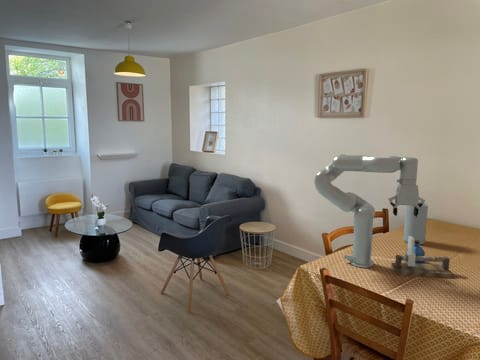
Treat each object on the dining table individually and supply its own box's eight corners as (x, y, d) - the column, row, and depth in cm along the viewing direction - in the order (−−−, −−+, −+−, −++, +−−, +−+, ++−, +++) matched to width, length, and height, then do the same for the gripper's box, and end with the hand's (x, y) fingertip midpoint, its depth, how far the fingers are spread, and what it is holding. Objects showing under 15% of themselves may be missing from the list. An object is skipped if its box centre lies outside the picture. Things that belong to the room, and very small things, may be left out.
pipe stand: (398, 275, 178) (399, 259, 177) (391, 266, 190) (392, 251, 189) (453, 277, 175) (455, 261, 174) (442, 268, 187) (443, 253, 186)
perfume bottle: (414, 264, 192) (416, 243, 191) (406, 260, 198) (407, 239, 196) (423, 263, 194) (425, 242, 192) (415, 259, 200) (417, 238, 198)
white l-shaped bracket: (408, 266, 180) (410, 239, 178) (404, 261, 186) (406, 235, 184) (414, 266, 180) (416, 239, 177) (410, 261, 185) (412, 235, 183)
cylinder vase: (428, 245, 223) (431, 206, 219) (408, 244, 223) (411, 206, 219) (419, 238, 235) (422, 201, 231) (400, 238, 236) (402, 201, 232)
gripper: (392, 183, 175) (389, 216, 178) (429, 183, 173) (426, 218, 175) (387, 180, 182) (385, 213, 185) (423, 181, 180) (420, 214, 183)
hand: (405, 215), depth 180 cm, fingers open, 9 cm apart
